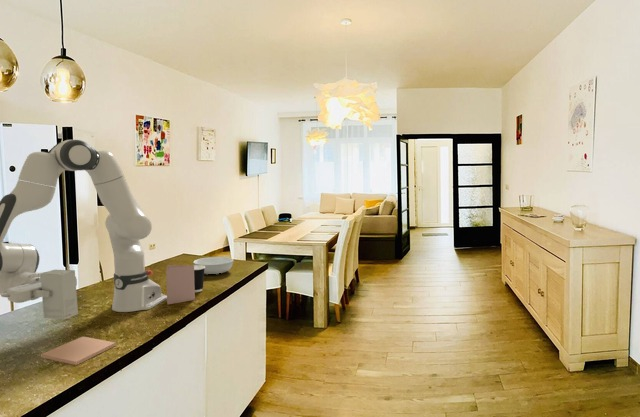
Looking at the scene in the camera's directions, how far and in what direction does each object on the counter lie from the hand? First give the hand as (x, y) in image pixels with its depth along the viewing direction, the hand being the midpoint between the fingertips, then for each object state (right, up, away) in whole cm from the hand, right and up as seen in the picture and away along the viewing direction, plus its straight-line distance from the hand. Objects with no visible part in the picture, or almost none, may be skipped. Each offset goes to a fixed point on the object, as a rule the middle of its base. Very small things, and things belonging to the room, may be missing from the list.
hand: (61, 290), depth 133 cm
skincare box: (-1, -9, +1) cm, 9 cm away
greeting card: (+24, -13, +42) cm, 50 cm away
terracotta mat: (+9, -17, -6) cm, 21 cm away
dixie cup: (+26, -12, +58) cm, 65 cm away
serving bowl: (+26, -9, +91) cm, 95 cm away
